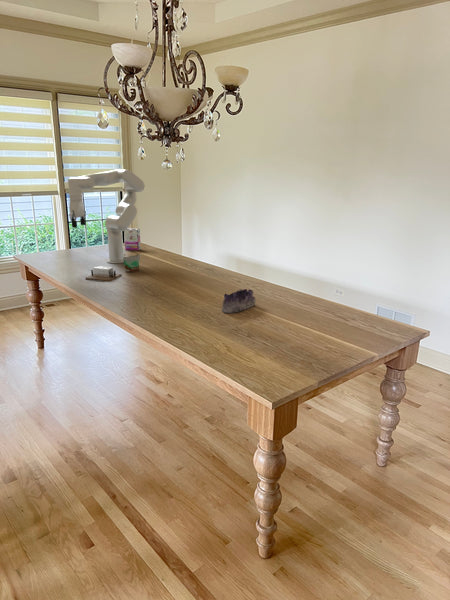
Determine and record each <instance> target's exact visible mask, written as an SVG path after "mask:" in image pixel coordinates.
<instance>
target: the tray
mask: <svg viewBox="0 0 450 600" xmlns="http://www.w3.org/2000/svg"><path fill="white" fill-rule="evenodd" d="M120 277H122V273H116V276H114V272H113V278H111V277H99V276H92V275H88V276H86V277H85V280H87V281H96V282H104V283H105V282H109V283H111V282H113V281H115V280H116V279H118V278H120Z"/></svg>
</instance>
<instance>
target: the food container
mask: <svg viewBox="0 0 450 600" xmlns="http://www.w3.org/2000/svg"><path fill="white" fill-rule="evenodd" d="M140 259H141V255H140V254H139V253H136V255H130V256H124V257H123V260H124V262H123V263H124V270H125V273H137V272H139V271H140Z"/></svg>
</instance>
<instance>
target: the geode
mask: <svg viewBox="0 0 450 600" xmlns="http://www.w3.org/2000/svg"><path fill="white" fill-rule="evenodd" d="M223 296H224V298H223V301H222V308H221V311H222V312H223V314H226V315H230V314H232V315H233V314H238V313H239V312H242V311H245V310H248V309H250V308H252V307H254V306H256V297H255V296H254V291H253V289H247V288H245V289H239V290H237V291H235V292H231V293H230V294H227V293H224V295H223Z"/></svg>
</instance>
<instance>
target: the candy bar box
mask: <svg viewBox="0 0 450 600" xmlns="http://www.w3.org/2000/svg"><path fill="white" fill-rule="evenodd" d="M140 229H141V228H129V227H128V228H127V229H126V230H125V231H123V234H124V247H125V248H124V249H125V251H140V250H141V249H142V247H141V233H140V232H141V230H140Z"/></svg>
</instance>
